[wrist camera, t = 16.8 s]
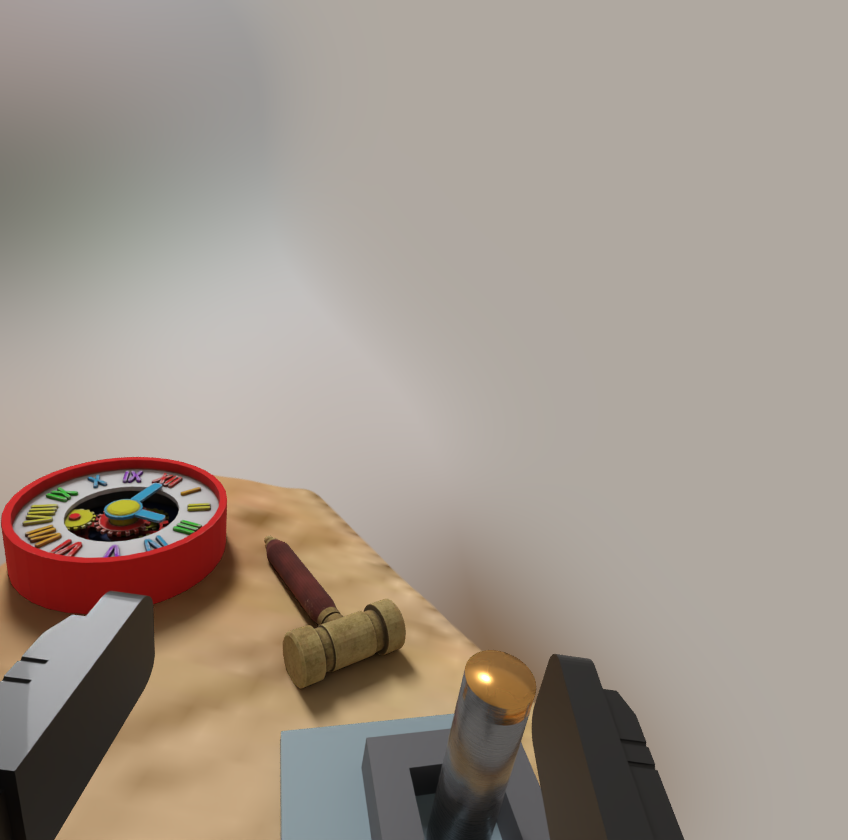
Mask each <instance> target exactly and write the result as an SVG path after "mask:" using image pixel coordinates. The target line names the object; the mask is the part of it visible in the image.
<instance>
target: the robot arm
mask: <svg viewBox="0 0 848 840" xmlns="http://www.w3.org/2000/svg"><path fill="white" fill-rule="evenodd" d="M154 657H155V647H154V614H153V600H152V598H151V597H150V596H145V595H138V594H131V593H124V592H117V591H109V592H107V593H106V594H104V596H103V597H102V598H101V599H100V600H99V601H98V602H97V604H96V605H95V606H94V607H93V608H92V610H91V611H90V612H89V613H88V614H87V615H86V616H79V615H71V616H69V617H68V618H66V619H65V620H63V621H61V622H60V623H58V624H57V625H55V626H53V627H52V628H50V629H49V630H47V631H45V632H44V633H43V634H42V635H41V636H40V637H39V638H38V639H37V640H36V641H35V642H34V644H33V645H32V646H31V647H30V648H29V649H28V650H27V651H26V652H25V653H24V655H23V656H22V658H21V660H20V661H17V662H16V663H15V664H14V666H13V667H12V668H11V669H10V670H9V671H8V672H7V673H6V674H5V675H4V678H3V680H2V681H0V840H54V839H55V838H56V836H57V834H58V833H59V831H60V829H61V828H62V826H63V824H64V823H65V821H66V819H67V817H68V816H69V814H70V812H71V811H72V809H73V807H74V806H75V804H76V802H77V801H78V799H79V797H80V796H81V794H82V792H83V791H84V789H85V787H86V786H87V784H88V782H89V781H90V779H91V777H92V776H93V774H94V772H95V771H96V769H97V767H98V766H99V764H100V762H101V761H102V759H103V757H104V756H105V754H106V752H107V751H108V749H109V747H110V746H111V744H112V742H113V741H114V739H115V737H116V736H117V734H118V732H119V731H120V729H121V727H122V726H123V724H124V722H125V721H126V719H127V717H128V716H129V714H130V712H131V711H132V709H133V707H134V706H135V704H136V702H137V701H138V699H139V697H140V696H141V694H142V692H143V691H144V689H145V687H146V685H147V683H148V680H149V678H150V675H151V672H152V668H153V664H154ZM532 741H533V747H534V753H535V758H536V764H537V770H538V775H539V781H540V786H541V792H542V797H543V803H544V809H545V814H546V820H547V825H548V831H549V837H550V840H684V838H683V835H682V833H681V830H680V827H679V825H678V822H677V820H676V817H675V814H674V812H673V810H672V807H671V804H670V802H669V799H668V796H667V794H666V791H665V789H664V786H663V784H662V781H661V778H660V776H659V774H658V771H657V770H655V763H654V760H653V758H652V755H651V753H650V751H649V748H648V747H646V740H645V737H644V735H643V732H642V730H641V727H640V725H639V722H638V719H637V717H636V715H635V714H634V712H633V711H632V710H631V708H630V707H629V706H628V705H627V703H626V702H625V701H624V700H623V698H622V697H621V696H620V694H619V693H618V692H617V691H613V690H606V689H603V688H602V686H601V683H600V680H599V677H598V674H597V671H596V668H595V665H594V663H593V662H592V660H590V659H587V658H580V657H572V656H565V655H558V654H553V655H552V656H551V657H550V659H549V662H548V665H547V668H546V671H545V675H544V678H543V681H542V684H541V687H540V690H539V694H538V696H537V700H536V703H535V706H534V710H533V716H532Z"/></svg>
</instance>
